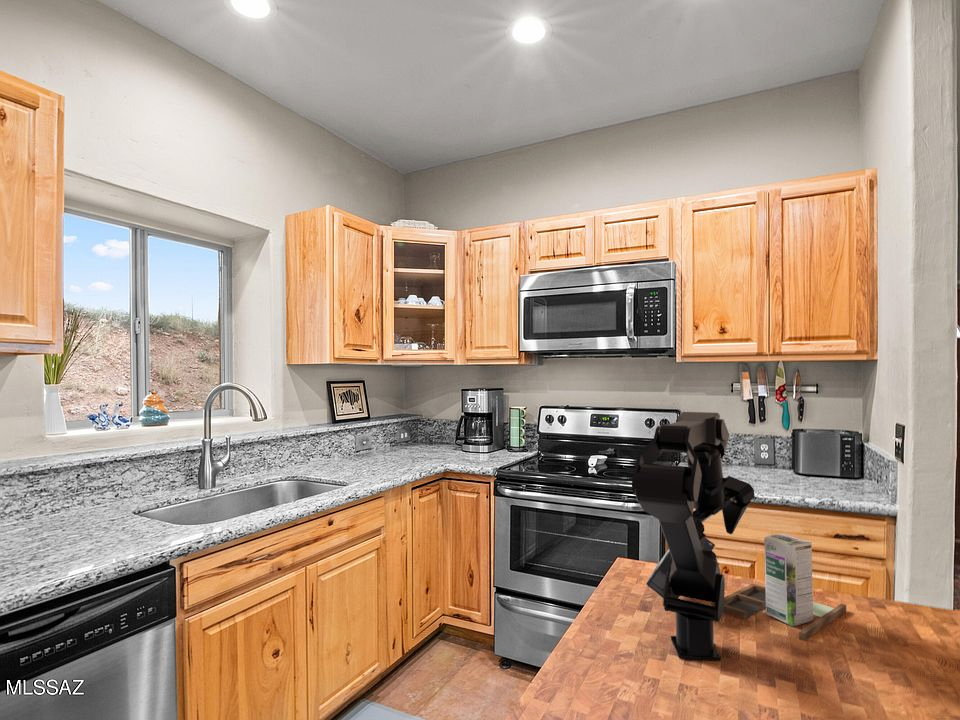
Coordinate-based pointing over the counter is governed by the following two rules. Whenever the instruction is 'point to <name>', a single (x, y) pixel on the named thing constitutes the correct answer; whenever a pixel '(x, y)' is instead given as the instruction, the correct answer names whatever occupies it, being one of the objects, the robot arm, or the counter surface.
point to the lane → (755, 600)
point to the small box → (663, 567)
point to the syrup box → (788, 579)
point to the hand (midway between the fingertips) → (714, 544)
